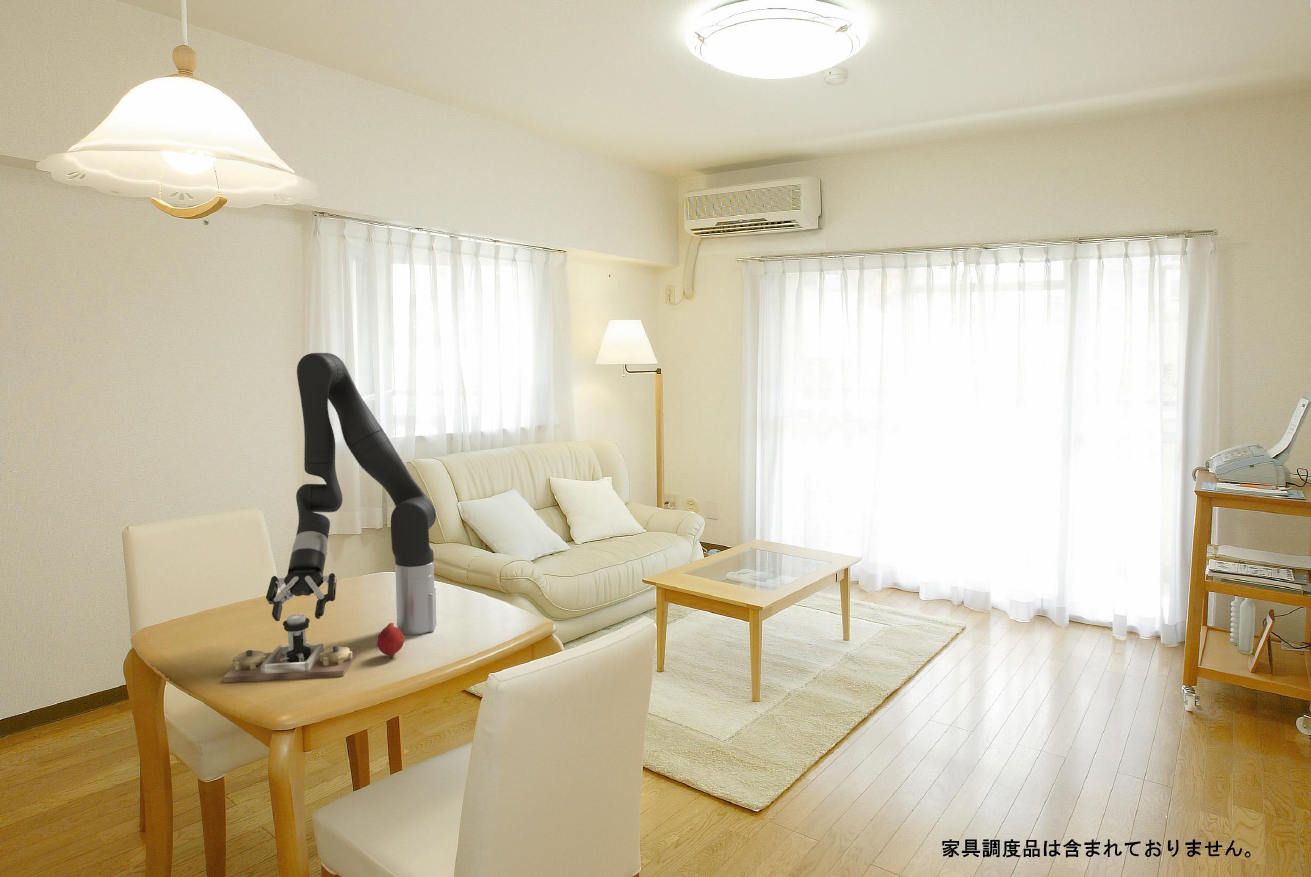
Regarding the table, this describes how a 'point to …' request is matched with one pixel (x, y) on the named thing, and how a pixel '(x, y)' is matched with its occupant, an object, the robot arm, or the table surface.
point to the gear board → (290, 664)
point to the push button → (296, 639)
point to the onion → (390, 640)
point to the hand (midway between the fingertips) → (297, 618)
